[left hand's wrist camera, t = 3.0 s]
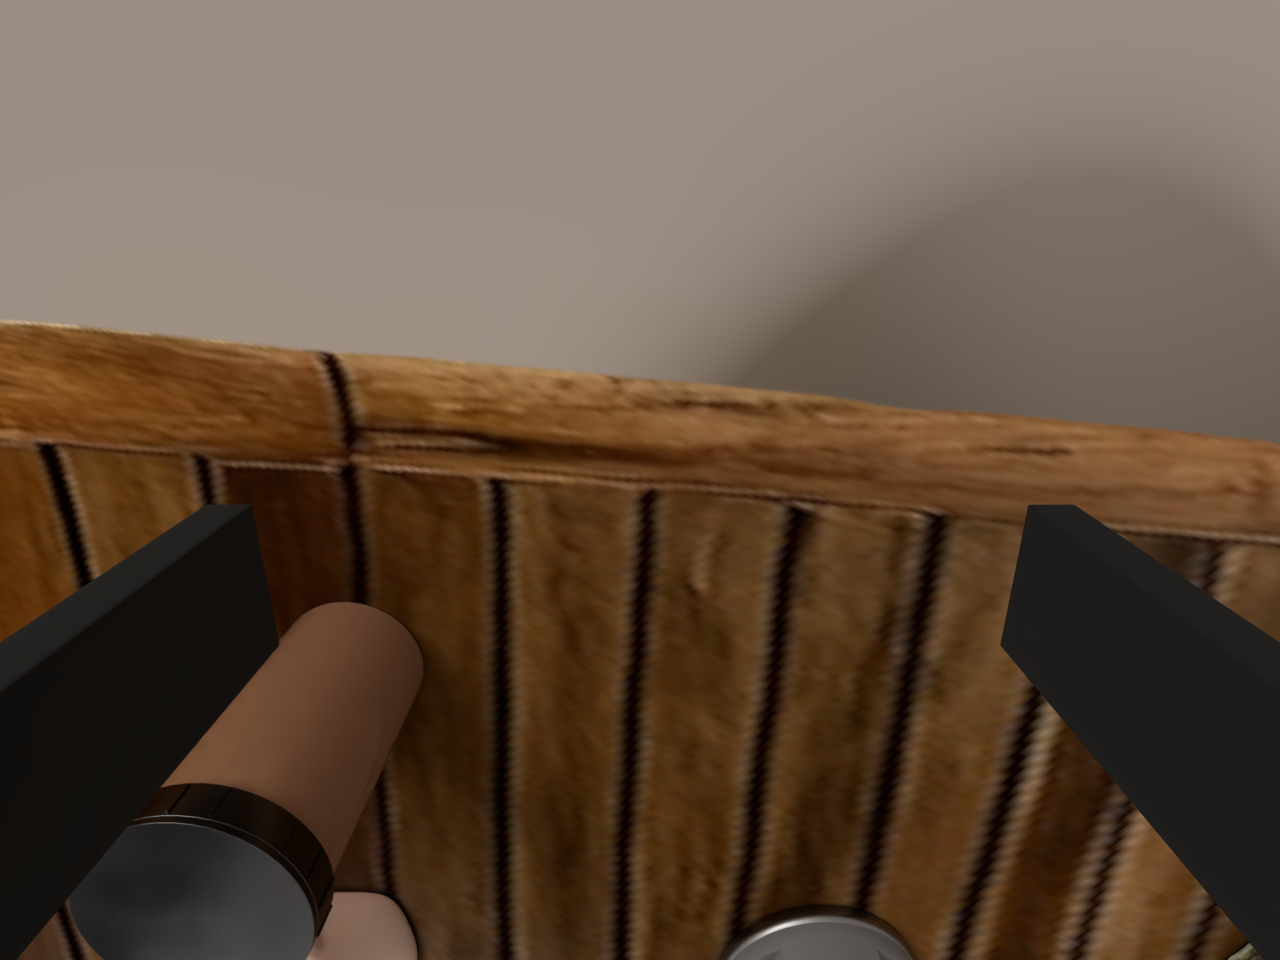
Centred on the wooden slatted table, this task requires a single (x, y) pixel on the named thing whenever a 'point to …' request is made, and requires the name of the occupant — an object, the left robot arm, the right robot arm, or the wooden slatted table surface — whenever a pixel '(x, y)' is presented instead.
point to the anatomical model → (364, 930)
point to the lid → (207, 881)
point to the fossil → (1246, 954)
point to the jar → (316, 720)
